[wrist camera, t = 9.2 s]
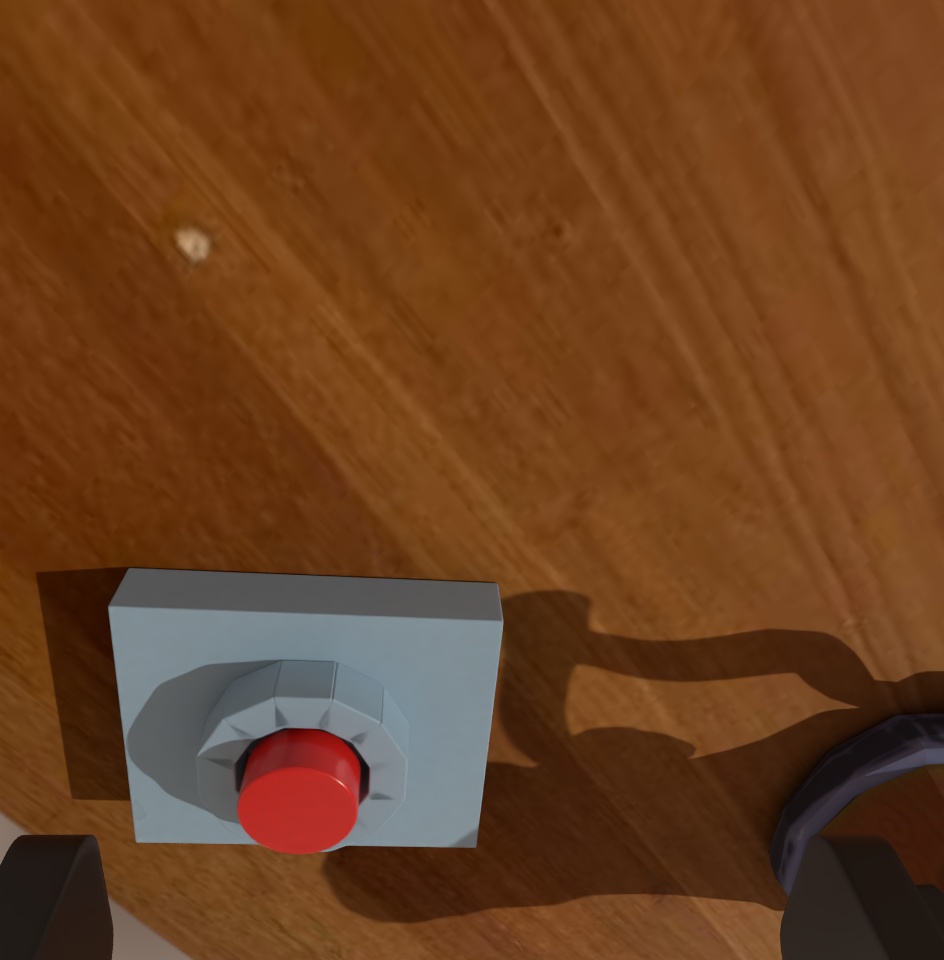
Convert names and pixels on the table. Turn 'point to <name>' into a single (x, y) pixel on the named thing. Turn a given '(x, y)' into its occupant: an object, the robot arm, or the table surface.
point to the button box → (306, 695)
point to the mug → (874, 798)
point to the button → (300, 791)
